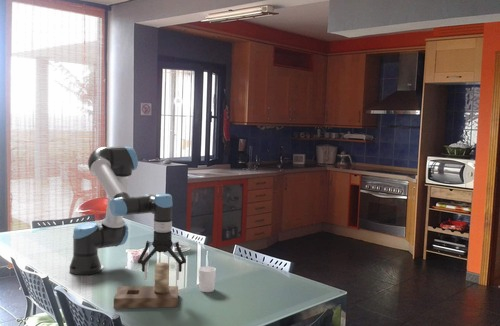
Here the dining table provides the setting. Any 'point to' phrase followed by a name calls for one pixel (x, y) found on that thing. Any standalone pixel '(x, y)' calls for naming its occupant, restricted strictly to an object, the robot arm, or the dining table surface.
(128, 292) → the walnut board
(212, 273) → the white cup
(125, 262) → the dining table surface
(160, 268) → the beech peg
